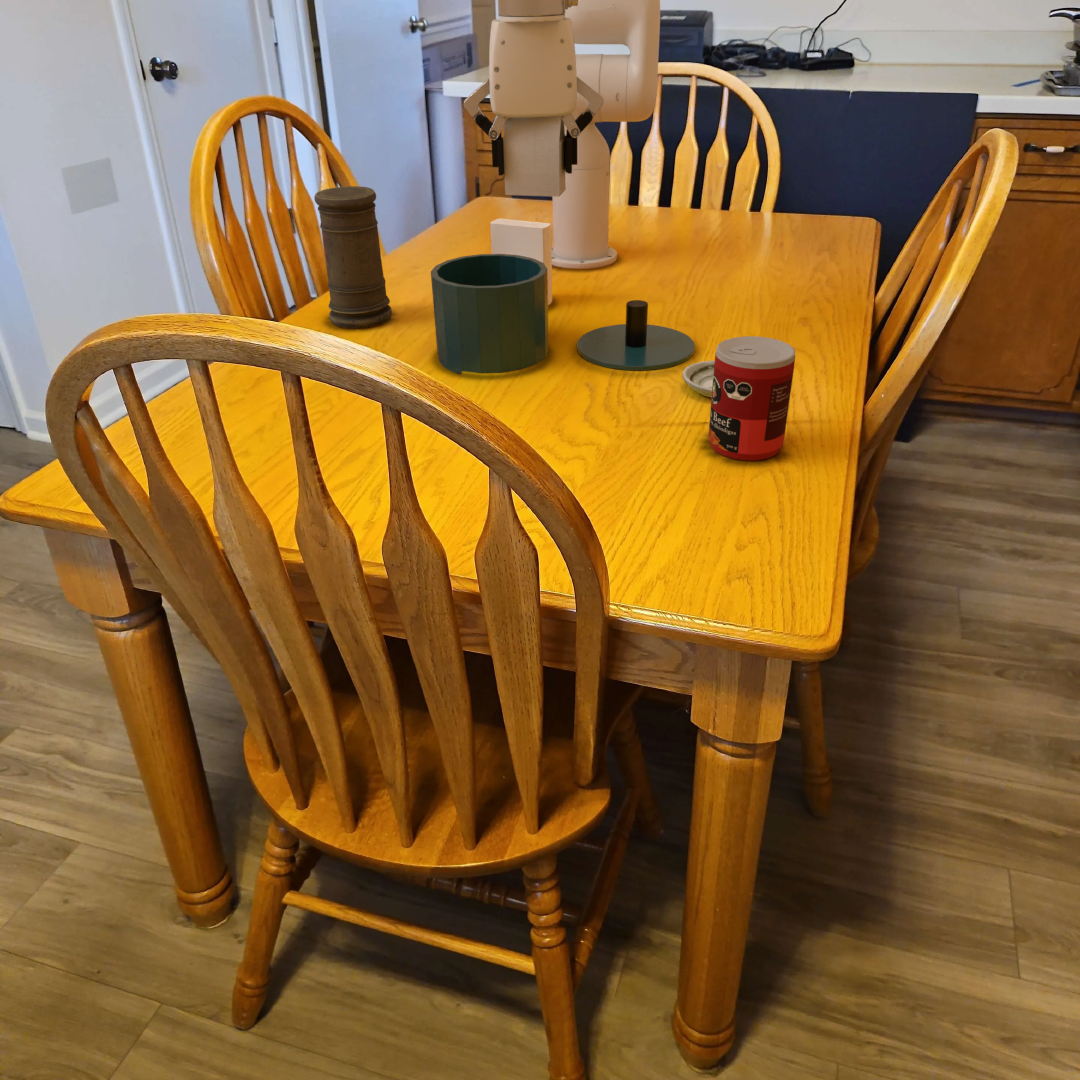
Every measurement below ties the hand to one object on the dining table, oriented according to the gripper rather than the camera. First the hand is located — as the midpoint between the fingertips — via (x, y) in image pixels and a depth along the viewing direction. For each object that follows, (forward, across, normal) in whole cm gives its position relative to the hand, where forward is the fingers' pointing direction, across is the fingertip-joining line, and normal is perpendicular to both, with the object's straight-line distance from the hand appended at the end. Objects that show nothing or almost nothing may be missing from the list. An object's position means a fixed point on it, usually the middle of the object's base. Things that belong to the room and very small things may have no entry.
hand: (534, 171), depth 113 cm
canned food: (+23, -21, +30) cm, 43 cm away
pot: (+23, +6, +2) cm, 24 cm away
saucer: (+23, -22, +16) cm, 35 cm away
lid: (+22, -13, +2) cm, 26 cm away
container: (+23, +26, -15) cm, 38 cm away
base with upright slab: (+23, +2, -19) cm, 30 cm away
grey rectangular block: (+3, 0, 0) cm, 3 cm away
